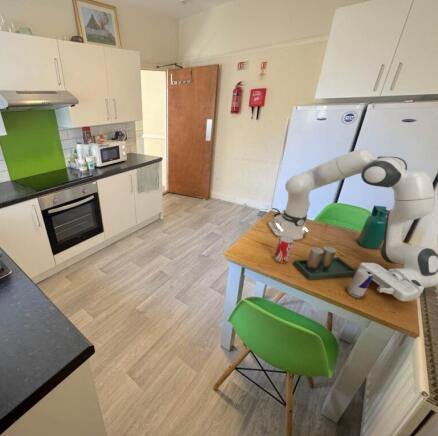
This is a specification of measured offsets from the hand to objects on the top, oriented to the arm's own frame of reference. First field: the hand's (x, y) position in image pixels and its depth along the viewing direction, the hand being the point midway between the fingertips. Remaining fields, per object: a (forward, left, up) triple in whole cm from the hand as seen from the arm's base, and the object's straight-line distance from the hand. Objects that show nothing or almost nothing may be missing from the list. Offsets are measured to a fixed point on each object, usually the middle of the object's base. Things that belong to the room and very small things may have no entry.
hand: (368, 281), depth 101 cm
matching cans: (-16, -9, -6) cm, 19 cm away
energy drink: (0, -4, -7) cm, 7 cm away
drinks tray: (-16, -6, -6) cm, 18 cm away
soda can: (-26, -22, -7) cm, 34 cm away
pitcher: (-34, +34, -7) cm, 49 cm away
